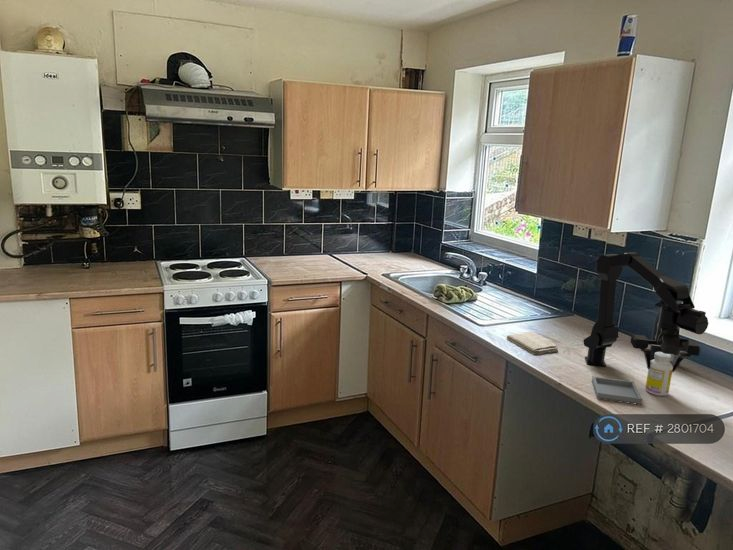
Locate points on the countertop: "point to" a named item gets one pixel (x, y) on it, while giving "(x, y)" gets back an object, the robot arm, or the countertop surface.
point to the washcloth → (533, 343)
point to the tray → (616, 390)
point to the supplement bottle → (659, 374)
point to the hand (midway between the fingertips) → (660, 370)
